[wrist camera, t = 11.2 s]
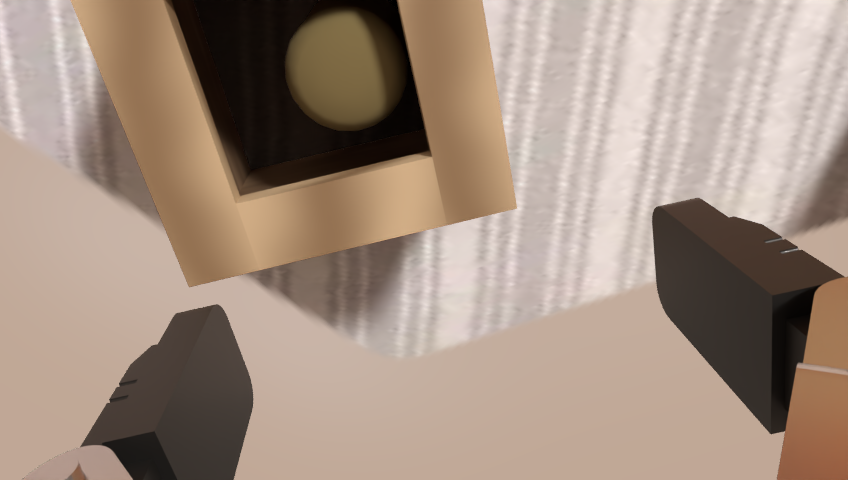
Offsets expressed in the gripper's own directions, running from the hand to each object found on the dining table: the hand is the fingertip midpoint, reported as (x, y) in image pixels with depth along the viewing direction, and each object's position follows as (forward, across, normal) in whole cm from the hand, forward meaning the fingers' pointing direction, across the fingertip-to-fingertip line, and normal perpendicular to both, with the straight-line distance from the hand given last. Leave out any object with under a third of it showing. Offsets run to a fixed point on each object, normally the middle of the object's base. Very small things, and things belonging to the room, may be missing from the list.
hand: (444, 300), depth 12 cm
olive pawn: (+27, +2, -2) cm, 27 cm away
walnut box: (+27, +4, -3) cm, 27 cm away
